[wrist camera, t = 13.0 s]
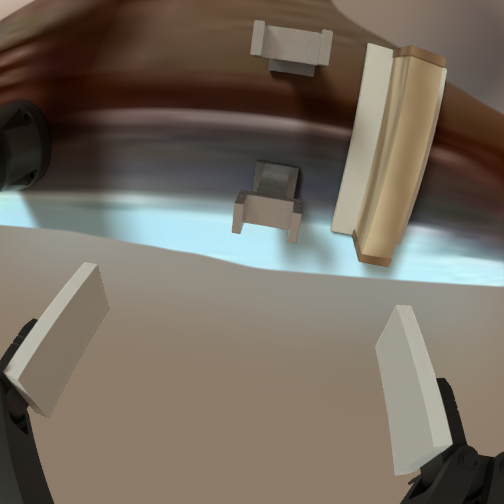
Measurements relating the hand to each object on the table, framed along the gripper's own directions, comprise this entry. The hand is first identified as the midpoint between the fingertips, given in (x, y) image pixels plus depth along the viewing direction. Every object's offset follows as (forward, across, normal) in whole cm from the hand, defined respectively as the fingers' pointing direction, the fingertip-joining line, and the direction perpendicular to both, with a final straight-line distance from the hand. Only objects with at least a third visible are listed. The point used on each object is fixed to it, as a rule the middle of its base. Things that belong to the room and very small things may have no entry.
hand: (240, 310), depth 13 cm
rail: (+26, +14, +3) cm, 29 cm away
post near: (+27, +1, +12) cm, 30 cm away
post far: (+27, +1, -4) cm, 27 cm away
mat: (+27, +14, +3) cm, 30 cm away
